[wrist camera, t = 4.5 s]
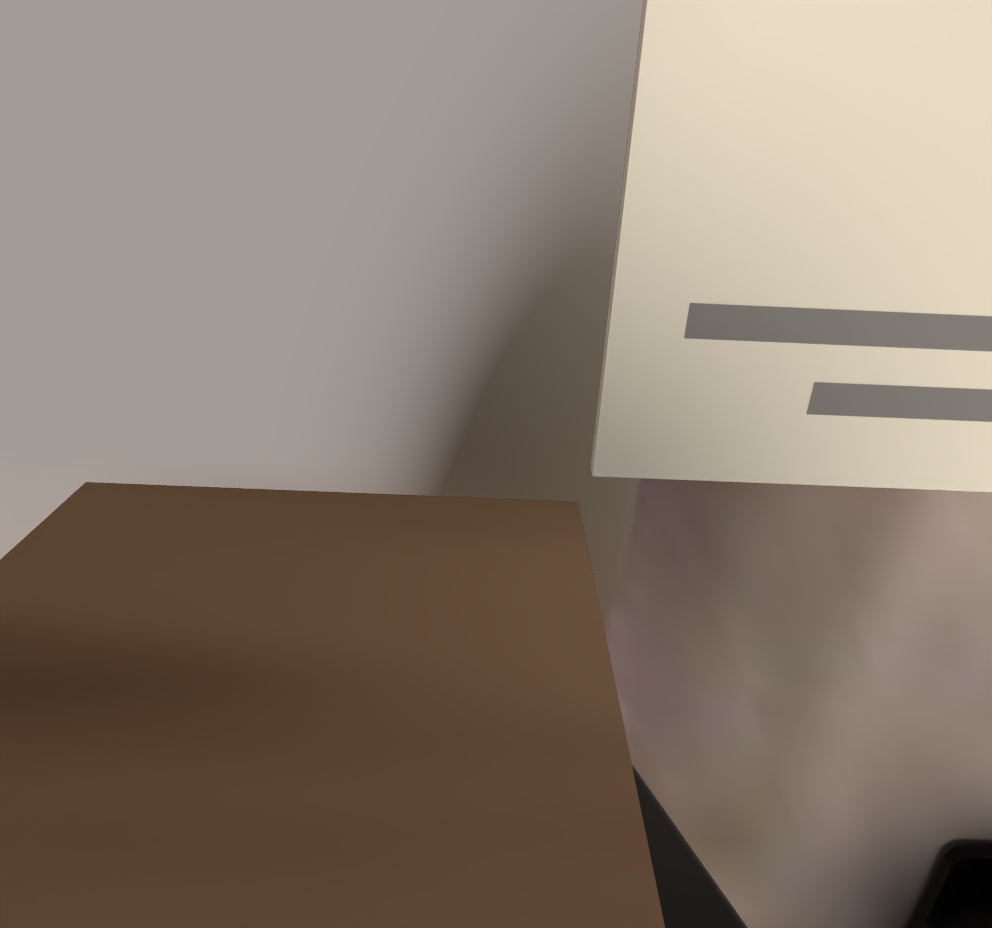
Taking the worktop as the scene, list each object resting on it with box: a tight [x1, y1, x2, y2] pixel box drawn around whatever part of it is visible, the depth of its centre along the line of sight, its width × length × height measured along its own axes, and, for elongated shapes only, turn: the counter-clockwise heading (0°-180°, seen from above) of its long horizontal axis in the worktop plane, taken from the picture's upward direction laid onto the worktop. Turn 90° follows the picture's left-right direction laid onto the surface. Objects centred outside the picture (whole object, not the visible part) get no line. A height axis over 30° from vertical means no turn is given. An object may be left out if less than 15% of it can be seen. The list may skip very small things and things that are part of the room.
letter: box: [590, 0, 992, 492], centre depth 13 cm, size 14×10×1 cm
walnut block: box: [0, 482, 665, 928], centre depth 6 cm, size 5×5×5 cm
